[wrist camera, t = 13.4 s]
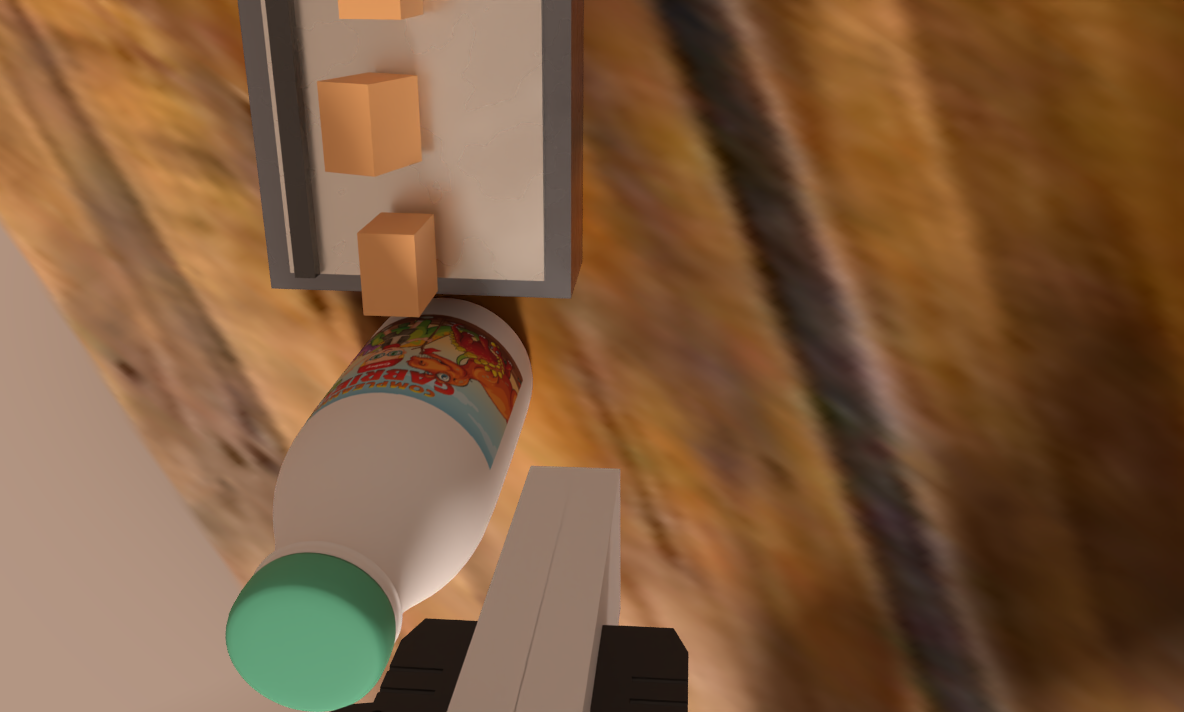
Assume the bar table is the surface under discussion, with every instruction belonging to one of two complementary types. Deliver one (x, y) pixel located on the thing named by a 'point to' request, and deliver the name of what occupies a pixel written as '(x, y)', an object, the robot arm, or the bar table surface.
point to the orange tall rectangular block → (379, 9)
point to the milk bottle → (381, 502)
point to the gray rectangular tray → (427, 140)
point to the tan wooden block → (397, 264)
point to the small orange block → (370, 123)
